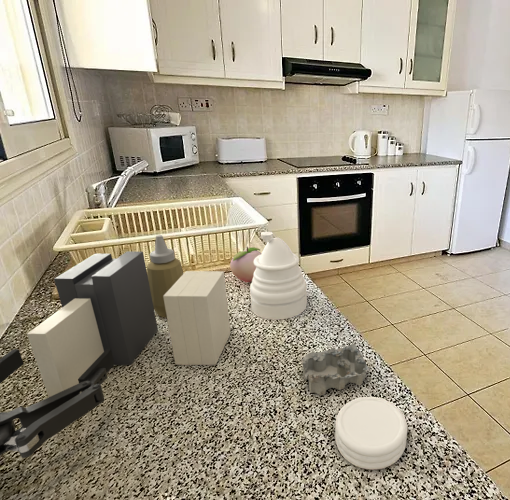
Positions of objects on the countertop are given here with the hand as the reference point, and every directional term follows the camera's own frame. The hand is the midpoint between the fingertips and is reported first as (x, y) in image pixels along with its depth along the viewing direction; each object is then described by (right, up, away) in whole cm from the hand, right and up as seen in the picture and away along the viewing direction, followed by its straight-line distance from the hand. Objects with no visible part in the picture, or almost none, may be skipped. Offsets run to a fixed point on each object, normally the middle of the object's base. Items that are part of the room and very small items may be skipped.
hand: (65, 356), depth 57 cm
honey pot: (+27, +3, +31) cm, 41 cm away
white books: (+15, -3, +15) cm, 22 cm away
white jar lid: (+46, -11, -4) cm, 48 cm away
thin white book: (0, -7, +4) cm, 8 cm away
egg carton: (+41, -6, +8) cm, 42 cm away
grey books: (-1, -2, +15) cm, 15 cm away
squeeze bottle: (+3, +2, +27) cm, 27 cm away
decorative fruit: (+17, +7, +42) cm, 46 cm away
